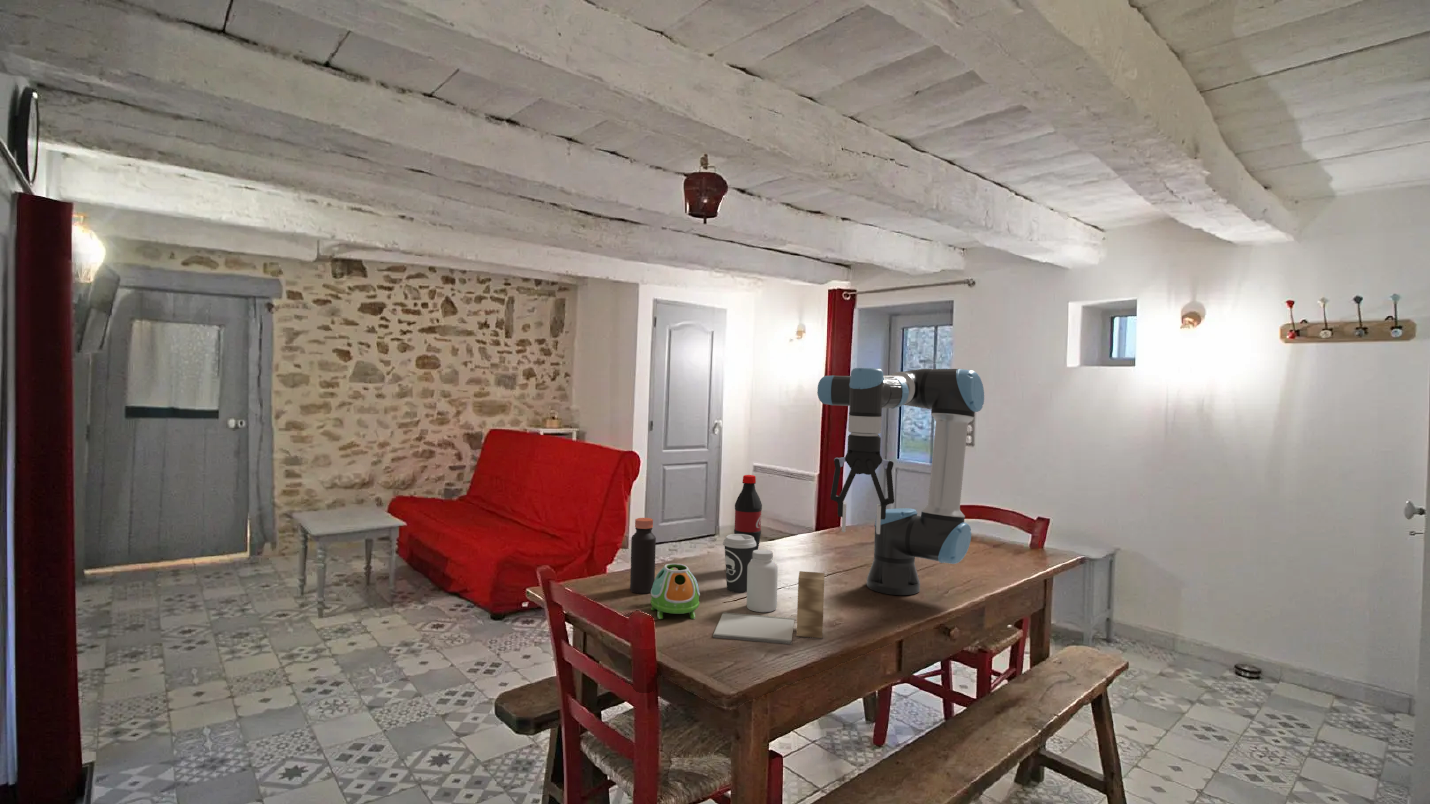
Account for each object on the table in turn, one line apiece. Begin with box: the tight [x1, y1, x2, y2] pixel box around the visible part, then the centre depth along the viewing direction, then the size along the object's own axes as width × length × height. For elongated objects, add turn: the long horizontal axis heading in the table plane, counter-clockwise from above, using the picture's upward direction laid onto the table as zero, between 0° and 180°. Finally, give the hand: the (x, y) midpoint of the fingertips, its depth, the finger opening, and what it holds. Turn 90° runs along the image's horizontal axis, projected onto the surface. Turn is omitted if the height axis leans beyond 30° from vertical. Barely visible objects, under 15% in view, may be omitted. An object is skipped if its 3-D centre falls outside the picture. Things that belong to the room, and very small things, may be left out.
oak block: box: [796, 570, 825, 640], centre depth 172 cm, size 6×6×14 cm
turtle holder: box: [650, 563, 701, 620], centre depth 186 cm, size 12×18×12 cm
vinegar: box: [629, 517, 657, 595], centre depth 202 cm, size 7×7×20 cm
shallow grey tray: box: [712, 612, 795, 645], centre depth 174 cm, size 18×16×1 cm
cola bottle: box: [733, 474, 763, 550], centre depth 225 cm, size 8×8×30 cm
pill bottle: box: [746, 548, 779, 613], centre depth 190 cm, size 8×8×15 cm
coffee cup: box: [722, 533, 756, 594], centre depth 206 cm, size 10×10×15 cm
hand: (860, 531), depth 170 cm, fingers open, 7 cm apart
